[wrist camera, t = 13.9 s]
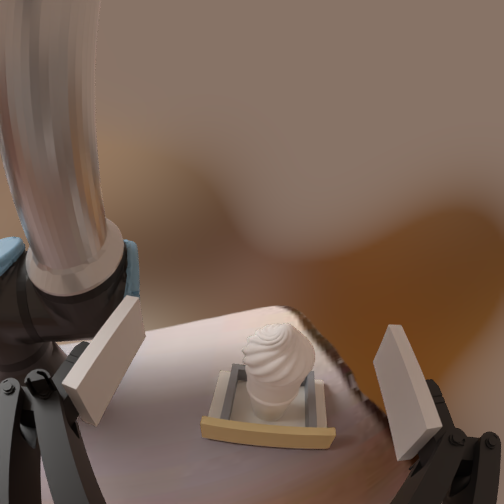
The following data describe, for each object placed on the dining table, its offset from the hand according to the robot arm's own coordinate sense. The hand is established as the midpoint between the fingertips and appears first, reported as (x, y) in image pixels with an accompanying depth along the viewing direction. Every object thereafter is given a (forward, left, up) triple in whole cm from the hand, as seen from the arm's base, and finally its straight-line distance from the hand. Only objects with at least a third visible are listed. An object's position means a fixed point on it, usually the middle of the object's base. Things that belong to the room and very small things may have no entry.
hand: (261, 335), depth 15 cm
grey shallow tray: (-10, +9, -25) cm, 29 cm away
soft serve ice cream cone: (-10, +9, -25) cm, 28 cm away
